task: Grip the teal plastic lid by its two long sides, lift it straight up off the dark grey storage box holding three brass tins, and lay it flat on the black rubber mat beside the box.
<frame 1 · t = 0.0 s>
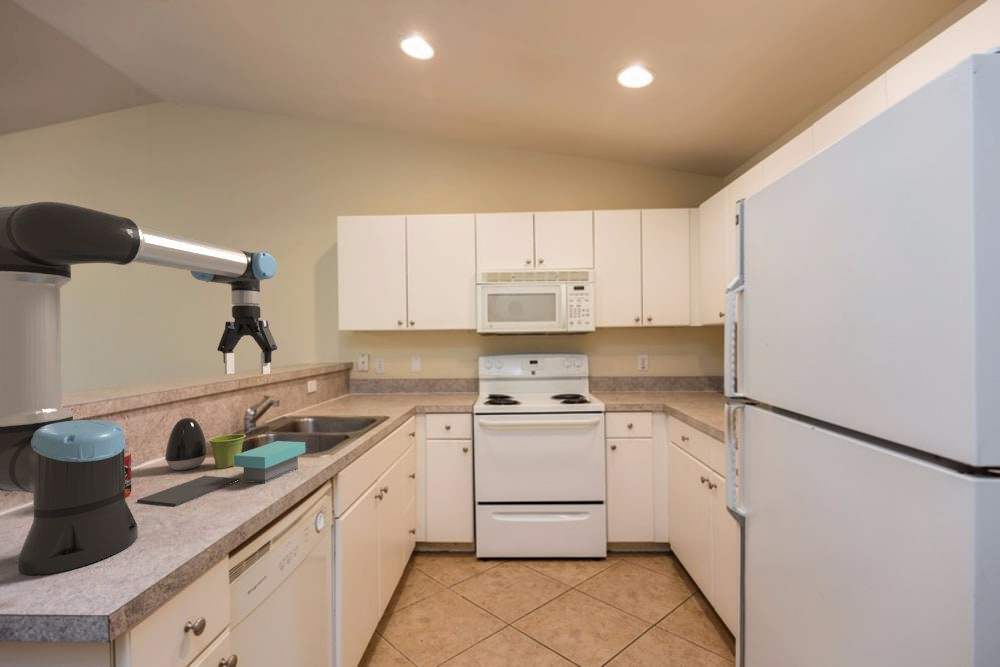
hand: (247, 373, 125), 28 cm above the countertop, tool pointing down, fingers open, 13 cm apart
plant pot: (228, 466, 124), on the countertop
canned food: (110, 499, 99), on the countertop
mat: (191, 490, 103), on the countertop
black egg-shaped piece: (187, 468, 123), on the countertop
storage box: (272, 474, 114), on the countertop
lid: (271, 459, 114), point 4 cm above the countertop, touching storage box
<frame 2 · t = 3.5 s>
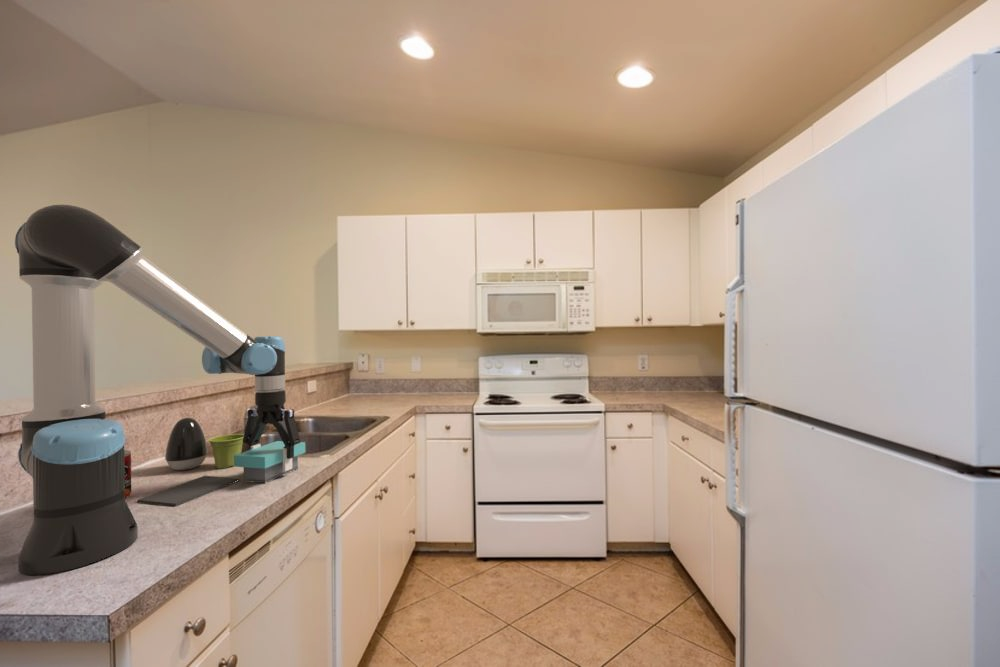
hand: (271, 468, 114), 2 cm above the countertop, tool pointing down, fingers closed on lid, 10 cm apart
lid: (271, 459, 114), point 5 cm above the countertop, touching gripper, storage box
everything else where it was.
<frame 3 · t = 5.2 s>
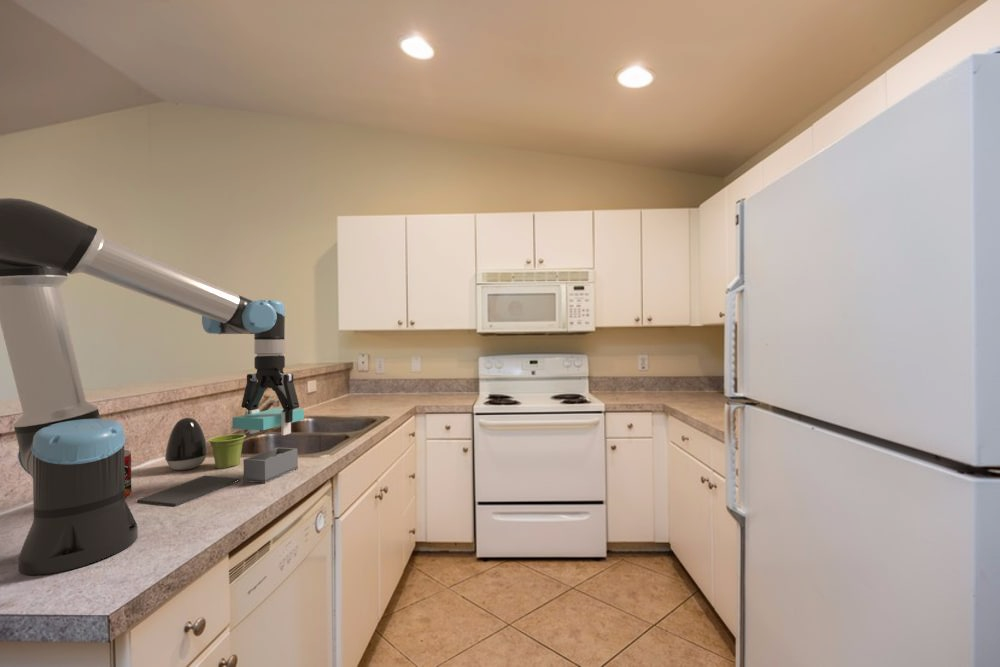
hand: (270, 433, 114), 12 cm above the countertop, tool pointing down, fingers closed on lid, 10 cm apart
lid: (270, 423, 114), point 15 cm above the countertop, touching gripper
everything else where it was.
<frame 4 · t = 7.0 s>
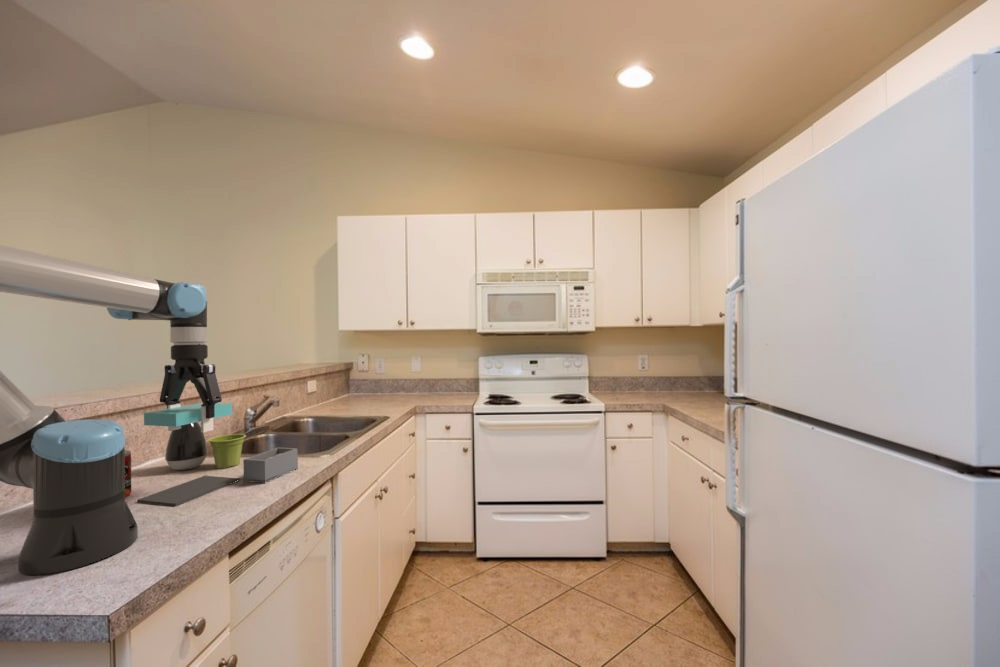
hand: (190, 430, 104), 15 cm above the countertop, tool pointing down, fingers closed on lid, 10 cm apart
lid: (190, 419, 104), point 18 cm above the countertop, touching gripper
everything else where it was.
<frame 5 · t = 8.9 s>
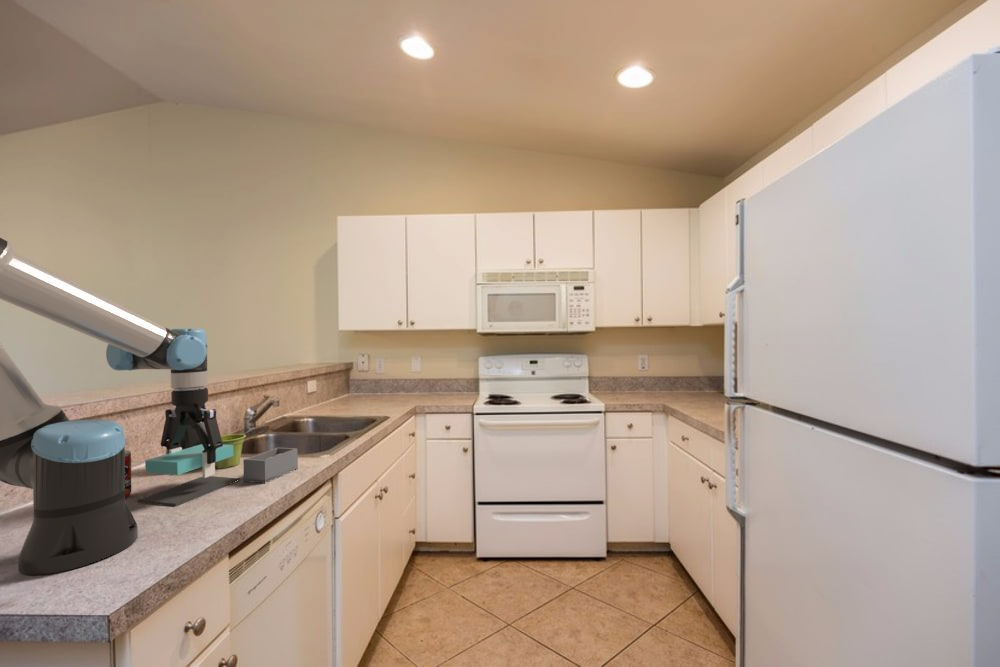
hand: (192, 474, 104), 4 cm above the countertop, tool pointing down, fingers closed on lid, 10 cm apart
lid: (192, 463, 104), point 7 cm above the countertop, touching gripper
everything else where it was.
when the fingers open (1 cm above the countertop, at t = 10.5 s): lid drops 3 cm, resting on mat.
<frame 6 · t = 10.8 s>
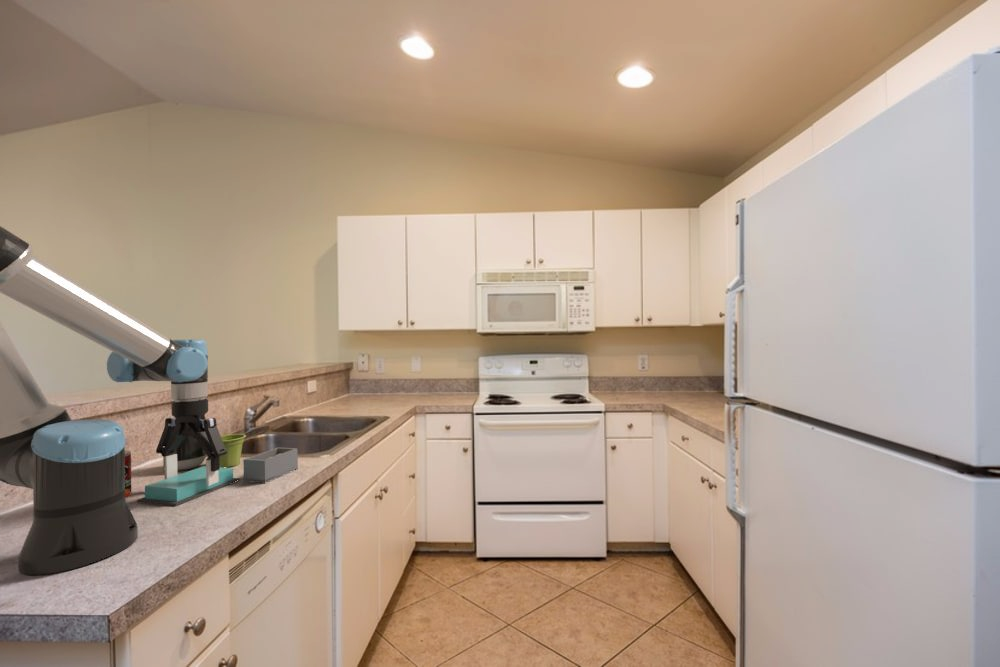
hand: (191, 482, 103), 2 cm above the countertop, tool pointing down, fingers open, 13 cm apart
lid: (191, 488, 103), point 1 cm above the countertop, touching mat
everything else where it was.
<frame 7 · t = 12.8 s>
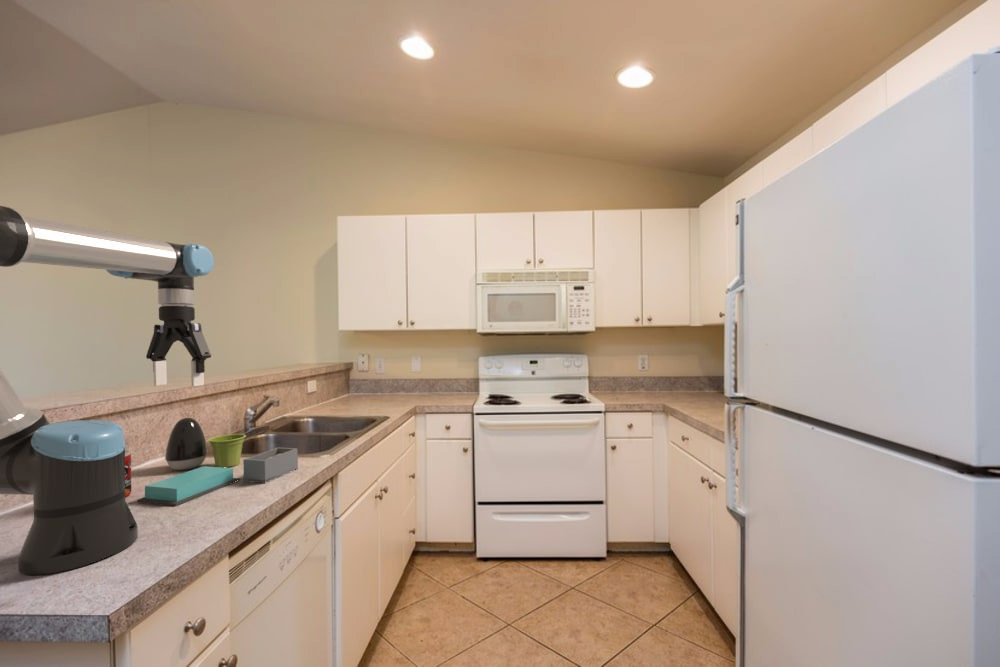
hand: (178, 385, 108), 27 cm above the countertop, tool pointing down, fingers open, 13 cm apart
nothing on the countertop moved.
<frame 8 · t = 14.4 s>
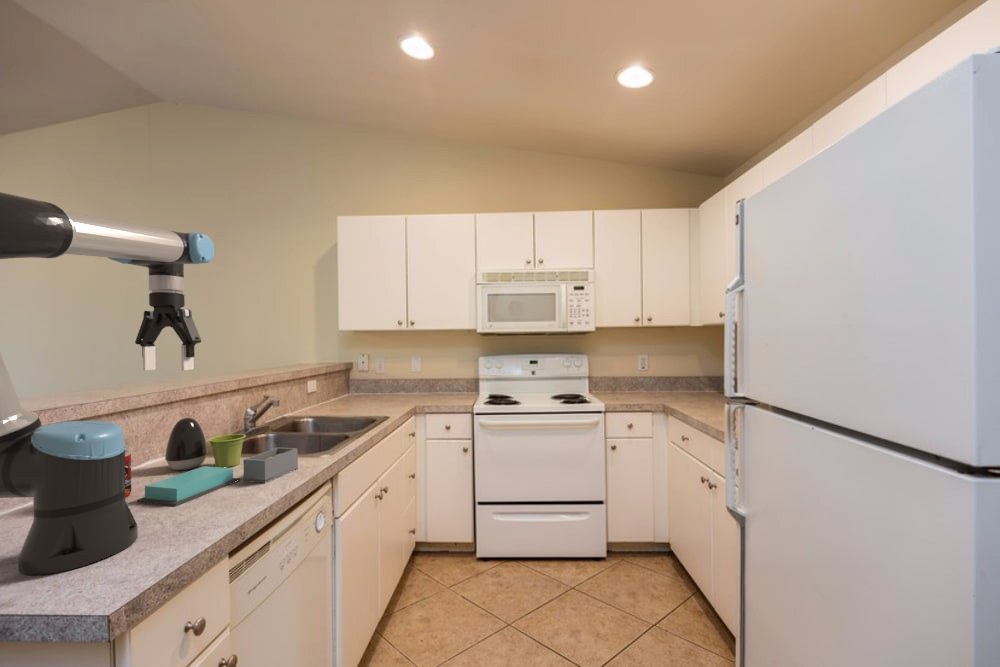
hand: (168, 370, 111), 31 cm above the countertop, tool pointing down, fingers open, 13 cm apart
nothing on the countertop moved.
at the end: lid inside the target area on the mat (0.0 cm from its centre), point 0.6 cm above the mat's base; lid tilted 0°; the gripper is holding nothing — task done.
